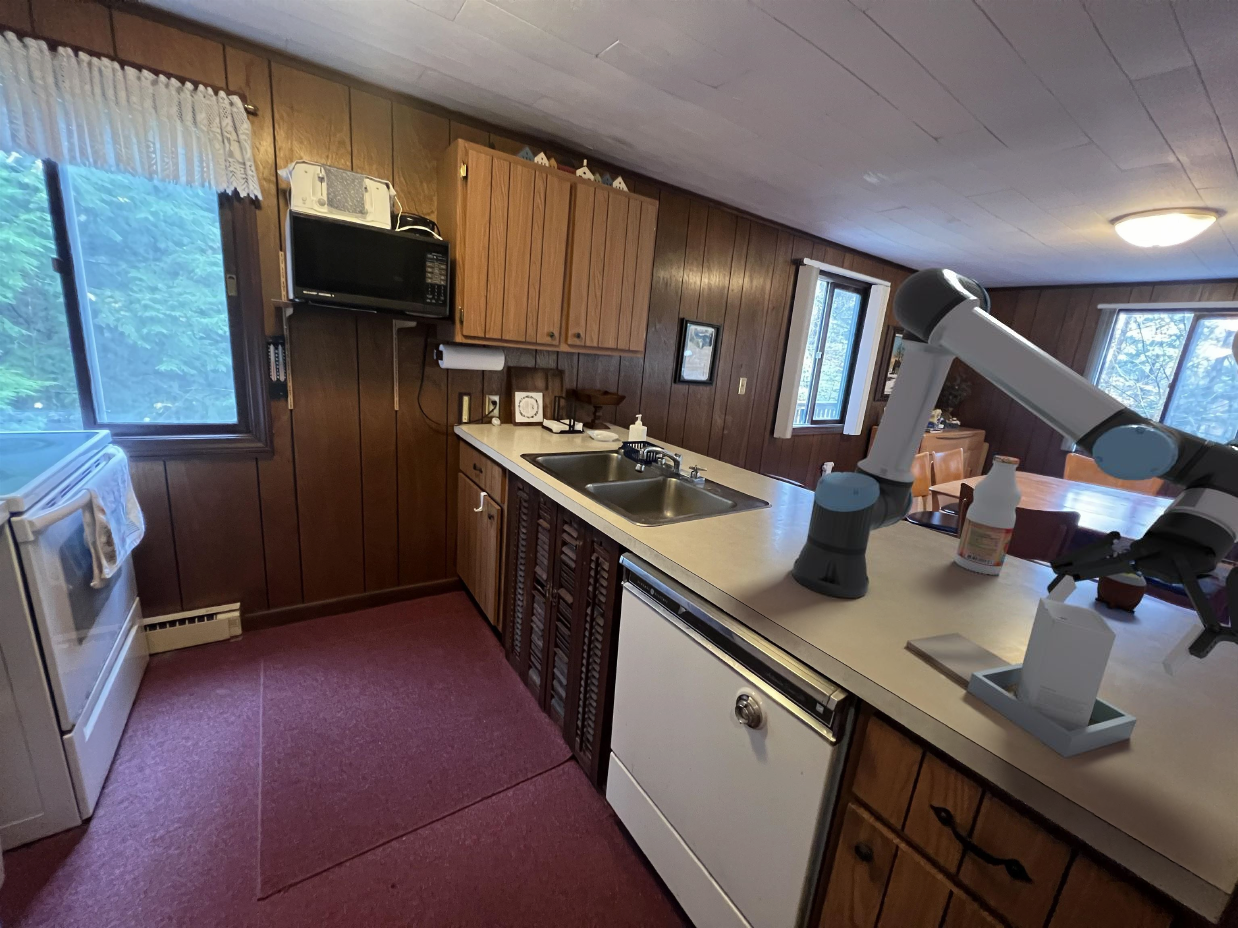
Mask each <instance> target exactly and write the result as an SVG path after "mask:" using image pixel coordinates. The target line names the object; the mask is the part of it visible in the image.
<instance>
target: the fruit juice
mask: <svg viewBox="0 0 1238 928" xmlns="http://www.w3.org/2000/svg"><path fill="white" fill-rule="evenodd" d="M992 464H993V465H992V466H991V469H990V470H989V471H988V472H987V474H986V476H985V477H984V478H983V479H981V480H979V481H978V482H977V483H976V484H975V486H974V488H973V500H972V503H970V505H969V507H968V509H967V511H966V516H965V519H964V524H963V527H962V531H961V535H960V539H959V541H958V545H957V550H956V554H955V559H954V560H955V563H956V564H957V565H958V566H960V565H961V566H962V567H961V566H960V567H961V568H963V567H964V569H965V568H966V569H965V570H968V569H969V570H968V571H971V570H972V572H974V571H975V572H974V573H977V572H979V574H981V573H983V574H982V575H987V574H990V575H989V576H995V575H999V574H1000V573H1001V572H1002V570H1003V567H1004V563H1005V559H1006V557H1007V551H1008V549H1009V545H1010V542H1011V538H1012V534H1013V531H1014V528H1015V524H1016V520H1017V515H1016V509H1017V507H1018V505H1019V504H1020V502H1021V500H1022V491H1021V489H1020V488H1019V485H1018V484H1017V479H1016V478H1017V477H1016V470H1017V467H1019V465H1020V459H1018V458H1015V457H1011V456H1005V455H993V458H992Z"/></svg>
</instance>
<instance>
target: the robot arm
mask: <svg viewBox="0 0 1238 928" xmlns="http://www.w3.org/2000/svg"><path fill="white" fill-rule="evenodd" d="M892 308H893V309H892V311H893V314H894V319H895V320H896V321H897V323H899V325H900V326H901V327H903V328H904V330H903V333H902V336H901V338H900V342H901V344H902V346H903V347H904V350H905V351H904V353H903V354H904V355H903V357H902V360H901V363H900V366H899V369H898V371H897V375H896V377H895V380H894V382H893V386H892V389H891V391H890V394H889V397H888V400H887V403H886V406H885V408H884V411H883V413H882V416H881V419H880V422H879V426H878V428H877V431H876V433H875V436H874V439H873V443H872V445H871V448H870V451H869V454H868V456H867V457H866V458H864V459H862V460H860V461H858V462H857V465H856V468H855V471H854V472H851V471H843V472H841V471H834V472H829V473H826V474H823V475H822V476H821V477H820V478H819V479H818V481H817V485H816V489H814V490H815V491H814V492H813V494H814V495H813V503H812V510H811V514H810V515H811V516H810V520H809V526H808V532H807V537H806V541H805V544H804V545H803V547H802V548H801V550H800V553H799V555H798V557H797V558H796V559H795V561H794V562H793V566H792V571H791V573H792V576H793V578H794V580H796V582H797V583H799V584H800V585H802V586H804V587H805V588H808V589H809V590H812V591H814V592H817V593H820V594H823V595H826V596H829V597H830V596H831V597H836V598H840V599H841V598H843V599H855V598H856V599H858V598H861V597H864V596H865V595H866V594H867V592H868V588H869V586H870V585H869V583H870V579H869V576H868V572H867V570H868V569H867V567H868V566H867V560H866V554H867V550H868V549H867V548H868V543H869V539H870V534H871V532H872V531H875V530H879V529H882V528H887V527H889V526H893V525H895V524H897V523H898V522H900V521H902V520H903V519H904V518H906V517H907V515H909V513H910V511H911V510H912V507H913V504H914V494H913V492H912V488H913V485H914V483H915V480H916V479H915V476H914V474H913V472H912V471H911V468H912V466H913V463H914V462H915V461H914V460H915V458H916V455H917V453H918V450H919V448H920V445H921V443H922V440H923V437H924V435H925V432H926V429H927V428H928V425H929V422H930V420H931V417H932V414H933V411H934V409H935V406H936V404H937V401H938V400H939V399H938V398H939V397H940V394H941V391H942V388H943V386H944V383H945V381H946V378H947V376H948V374H949V373H948V372H949V371H950V368H951V365H952V363H953V360H954V359H956V357H957V358H958V359H959V360H961V361H962V362H963V363H965V364H966V366H967V365H968V367H970V368H971V369H972V370H974V371H975V372H977V373H978V374H979V375H981V376H983V378H985V379H986V380H988V381H989V382H990V383H992V384H993V385H994V386H996V387H997V388H998V389H1000V390H1001V391H1003V392H1004V393H1005V394H1007V395H1008V396H1009V397H1011V398H1012V399H1014V401H1016V402H1018V404H1021V405H1022V406H1023V407H1024V408H1026V409H1027V410H1028V411H1029V412H1031V413H1032V414H1033V415H1035V416H1036V417H1037V418H1039V419H1041V420H1042V421H1043V422H1044V423H1046V424H1047V425H1048V426H1050V427H1051V428H1053V429H1054V430H1055V431H1057V432H1058V433H1059V434H1061V435H1062V436H1063V437H1065V438H1066V439H1068V440H1069V441H1070V442H1071V443H1073V444H1074V445H1075V446H1076V447H1078V448H1079V449H1080V450H1081V451H1083V452H1084V453H1085V454H1087V455H1088V456H1089V457H1091V458H1092V459H1093V461H1094V463H1095V464H1096V466H1097V468H1098V469H1100V471H1102V472H1103V473H1104V474H1106V475H1108V476H1110V477H1113V479H1114V478H1115V479H1117V480H1122V481H1123V480H1124V481H1135V482H1136V481H1146V480H1151V479H1154V478H1156V479H1159V480H1161V481H1164V482H1167V483H1169V484H1171V485H1173V486H1175V487H1176V486H1177V487H1180V488H1182V489H1183V490H1182V491H1181V492H1180V494H1179V495H1178V496H1177V497H1176V498H1175V499H1174V500H1173V501H1172V502H1171V503H1170V504H1169V505H1168V506H1167V507H1166V509H1164V511H1163V514H1161V515H1159V516H1158V518H1156V520H1155V521H1154V522H1153V523H1152V525H1150V527H1149V528H1148V529H1147V530H1146V531H1145V532H1144V534H1143V536H1141V537H1140V538H1139V539H1134V540H1132V539H1129V538H1126V537H1124V536H1122V535H1121V533H1120V531H1118V530H1111V531H1110V532H1108V533H1107V534H1105V536H1103V537H1102V538H1101V539H1099V540H1097V541H1094V542H1091V543H1089V544H1087V545H1084V546H1082V547H1080V548H1078V549H1075V550H1072V551H1070V552H1068V553H1065V554H1063V555H1060V556H1057V557H1055V558H1053V559H1050V560H1049V565H1050V567H1051V570H1052V572H1053V574H1055V575H1056V576H1055V577H1054V578H1053V580H1052V581H1050V583H1049V584H1048V585H1047V587H1046V591H1047V592H1048V594H1047V596H1046V597H1044V599H1048V600H1052V601H1056V602H1060V603H1064V602H1065V601H1066V600H1067V599H1068V598H1069V597H1070V596H1071V594H1073V592H1075V590H1076V589H1077V584H1076V583H1079V582H1083V581H1089V580H1094V579H1099V578H1100V577H1105V576H1110V575H1115V574H1120V573H1126V574H1132V573H1139V574H1140V573H1141V574H1140V575H1142V576H1143V577H1146V578H1150V579H1156V580H1158V581H1161V582H1162V583H1164V584H1166V585H1167V584H1168V585H1170V586H1173V585H1181V586H1182V587H1183V589H1184V592H1185V593H1186V595H1187V596H1188V599H1189V600H1190V603H1191V604H1192V606H1193V608H1194V610H1195V612H1196V614H1197V616H1198V619H1199V620H1200V622H1201V624H1202V625H1199V624H1197V623H1194V624H1193V625H1192V627H1191V628H1190V629H1189V630H1188V631H1187V632H1186V633H1185V635H1184V636H1183V637H1182V638H1181V639H1180V641H1179V642H1178V643H1177V644H1175V646H1174V647H1173V649H1171V651H1170V652H1169V653H1168V654H1167V655H1166V657H1164V659H1163V660H1162V661H1161V662H1162V663H1161V664H1162V665H1163V669H1164V673H1165V674H1167V675H1169V676H1172V677H1175V676H1176V675H1177V673H1178V672H1180V670H1181V669H1182V668H1183V666H1184V665H1185V664H1186V663H1187V662H1188V661H1189V660H1190V659H1191V658H1192V657H1196V658H1198V659H1200V660H1202V659H1206V657H1207V656H1208V655H1209V654H1210V653H1211V652H1212V651H1213V650H1214V648H1215V647H1216V646H1217V645H1218V644H1219V643H1220V642H1229V643H1234V644H1235V645H1237V646H1238V566H1234V567H1232V568H1227V567H1222V566H1219V564H1220V563H1221V562H1222V560H1223V559H1224V558H1225V557H1226V556H1227V555H1228V554H1229V553H1230V551H1231V550H1232V549H1233V548H1234V547H1235V543H1238V437H1237V438H1232V439H1230V440H1228V441H1227V442H1226V443H1221V442H1218V441H1213V440H1211V439H1207V438H1206V439H1205V438H1203V437H1200V436H1197V435H1195V434H1192V433H1189V432H1187V431H1185V430H1182V429H1178V428H1177V427H1176V428H1175V427H1173V426H1170V425H1167V424H1164V423H1161V422H1158V421H1157V420H1156V421H1155V420H1153V419H1152V418H1149V417H1145V416H1142V415H1140V414H1139V413H1138V412H1136V411H1134V410H1132V409H1131V408H1130V407H1128V406H1127V405H1126V404H1124V403H1122V402H1121V401H1119V400H1117V399H1116V398H1115V397H1113V396H1112V395H1110V394H1108V393H1107V392H1105V390H1103V389H1101V388H1100V387H1098V386H1097V385H1095V384H1094V383H1092V382H1091V381H1089V380H1088V379H1086V378H1085V377H1083V376H1081V374H1079V373H1077V372H1076V371H1074V370H1072V368H1070V367H1068V366H1067V365H1065V364H1064V363H1062V362H1061V361H1059V360H1058V359H1056V358H1055V357H1053V356H1052V355H1050V354H1049V353H1047V352H1046V351H1044V350H1042V349H1041V348H1040V347H1038V346H1037V345H1036V344H1034V343H1032V342H1031V341H1029V340H1028V339H1026V338H1025V337H1024V336H1022V335H1020V334H1019V333H1017V331H1015V330H1013V329H1011V328H1010V327H1008V326H1007V325H1006V324H1004V323H1002V322H1001V321H999V320H997V318H995V317H994V316H992V315H990V310H991V299H990V296H989V294H988V292H987V291H986V289H985V288H984V287H983V286H982V285H981V284H980V283H979V281H976V280H975V279H973V278H971V277H966V276H964V275H961V274H959V273H956V272H954V271H952V270H950V269H947V268H943V267H931V268H926V269H922V270H920V271H918V272H915V273H913V274H912V275H910V276H909V277H908V278H906V279H905V280H904V281H903V282H902V283H901V284H900V285H899V286H898V288H897V291H896V293H895V295H894V298H893V304H892ZM1123 550H1130V551H1124V552H1122V551H1123ZM1116 551H1117V552H1118V553H1117V556H1116V557H1114V556H1111V555H1112V554H1113V553H1114V552H1116ZM1113 555H1114V554H1113ZM1109 556H1110V557H1109ZM1106 557H1107V558H1106ZM1132 561H1133V563H1130V562H1132ZM1213 577H1217V578H1218V580H1219V581H1218V582H1219V583H1220V584H1221V585H1222V586H1224V587H1225V592H1226V600H1227V607H1228V616H1229V624H1230V626H1226V625H1222V623H1221V622H1220V621H1219V619H1218V617H1217V616H1216V613H1215V612H1214V610H1213V608H1212V606H1211V603H1210V602H1209V601H1208V598H1207V596H1206V594H1205V593H1204V591H1203V588H1202V587H1201V585H1200V583H1199V581H1200V580H1201V581H1202V580H1205V579H1210V578H1213Z"/></svg>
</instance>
